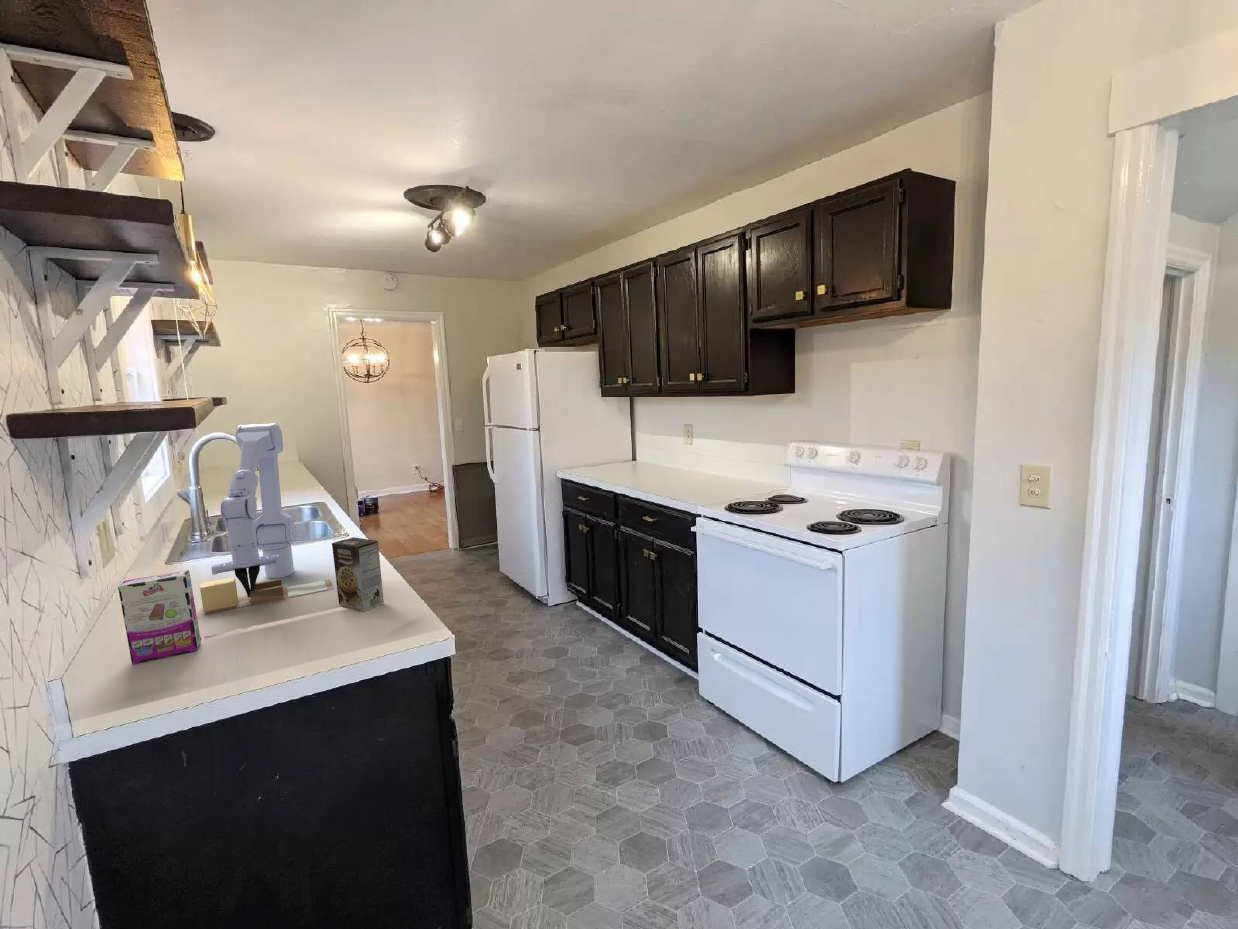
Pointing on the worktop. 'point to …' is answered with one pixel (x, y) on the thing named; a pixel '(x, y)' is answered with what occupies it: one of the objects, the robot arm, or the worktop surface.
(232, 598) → the ochre block
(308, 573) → the worktop surface
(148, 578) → the candy bar box
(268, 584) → the pocket board
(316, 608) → the worktop surface
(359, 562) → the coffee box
